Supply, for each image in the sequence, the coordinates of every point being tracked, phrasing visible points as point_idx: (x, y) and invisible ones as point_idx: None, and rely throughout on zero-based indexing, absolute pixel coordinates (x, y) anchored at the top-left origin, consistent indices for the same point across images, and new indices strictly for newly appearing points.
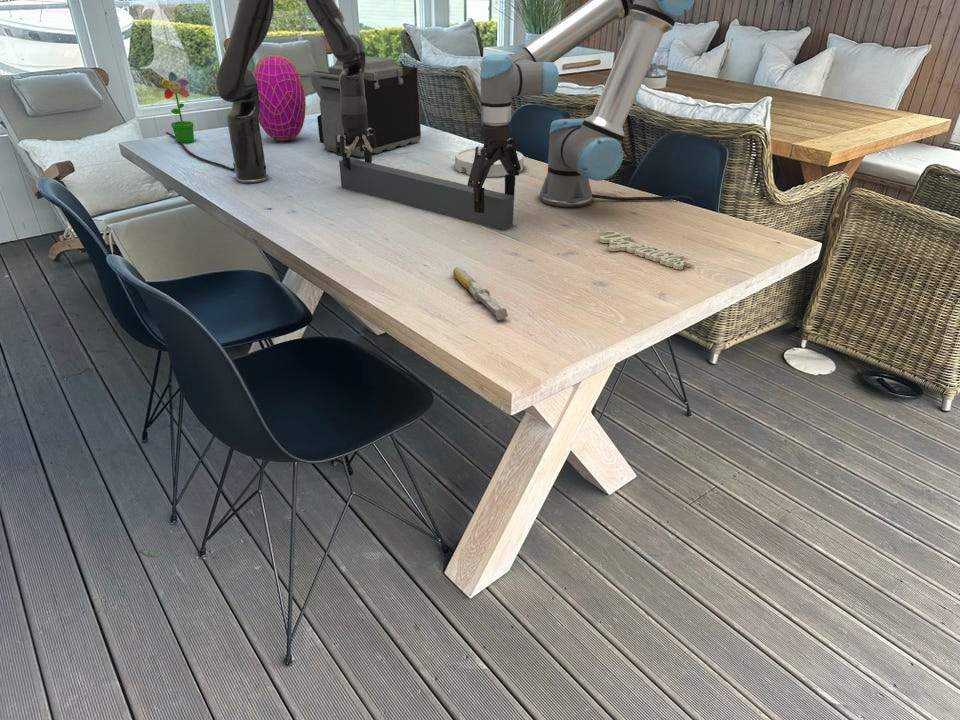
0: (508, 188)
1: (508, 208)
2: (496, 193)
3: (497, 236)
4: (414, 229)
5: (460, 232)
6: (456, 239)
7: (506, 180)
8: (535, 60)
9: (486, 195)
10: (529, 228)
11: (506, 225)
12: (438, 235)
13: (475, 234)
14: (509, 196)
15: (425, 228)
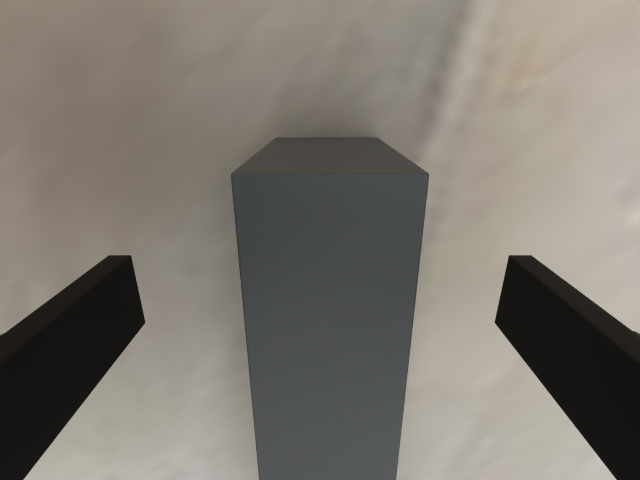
0: (86, 350)
1: (333, 155)
2: (292, 347)
3: (486, 103)
4: (584, 447)
5: None
6: (632, 253)
7: (40, 433)
8: None
9: (401, 377)
10: (240, 19)
11: (346, 140)
12: None
13: (518, 222)
14: (285, 199)
15: (552, 426)
